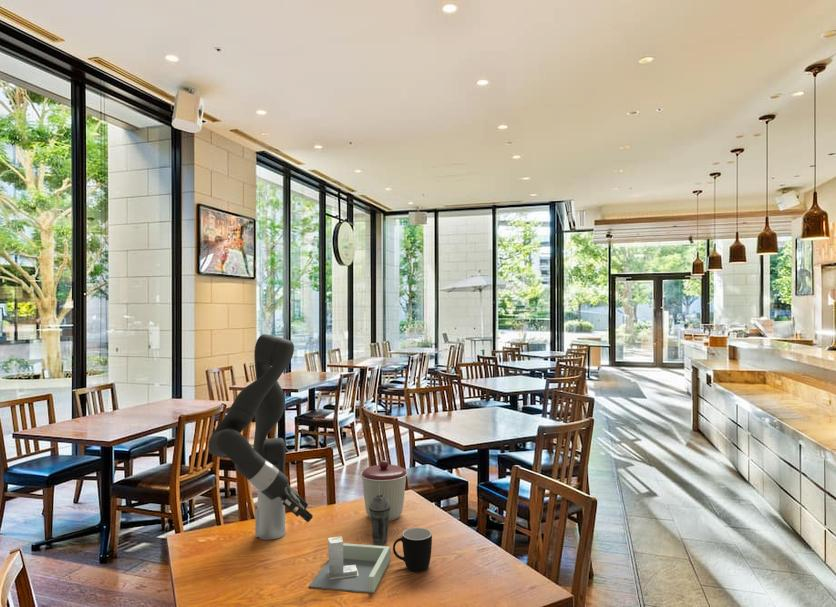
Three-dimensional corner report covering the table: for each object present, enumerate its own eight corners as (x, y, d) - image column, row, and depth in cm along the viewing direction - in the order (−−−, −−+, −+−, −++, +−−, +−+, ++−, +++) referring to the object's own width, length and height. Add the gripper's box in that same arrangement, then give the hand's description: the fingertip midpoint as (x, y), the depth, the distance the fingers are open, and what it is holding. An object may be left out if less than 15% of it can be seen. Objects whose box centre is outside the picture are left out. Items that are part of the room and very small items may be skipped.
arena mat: (308, 587, 147) (308, 585, 147) (331, 556, 166) (331, 555, 166) (374, 593, 143) (374, 591, 143) (390, 561, 162) (390, 559, 162)
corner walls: (308, 587, 147) (308, 571, 147) (331, 556, 166) (331, 542, 166) (374, 593, 143) (374, 576, 144) (390, 561, 162) (390, 546, 162)
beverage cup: (392, 538, 179) (391, 479, 179) (389, 547, 172) (388, 486, 172) (371, 537, 180) (370, 478, 180) (367, 546, 172) (366, 485, 173)
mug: (434, 561, 162) (433, 528, 162) (430, 575, 153) (429, 540, 153) (395, 558, 164) (395, 526, 164) (390, 573, 155) (389, 538, 155)
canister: (403, 506, 209) (402, 452, 209) (412, 523, 191) (412, 465, 191) (358, 510, 205) (357, 456, 205) (363, 528, 187) (362, 469, 188)
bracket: (329, 578, 151) (329, 543, 151) (328, 571, 155) (328, 537, 155) (357, 575, 153) (356, 540, 153) (355, 568, 157) (355, 534, 157)
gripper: (280, 477, 144) (321, 512, 149) (275, 461, 157) (313, 494, 162) (260, 499, 142) (302, 534, 147) (256, 480, 156) (295, 513, 160)
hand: (308, 513), depth 154 cm, fingers open, 8 cm apart
